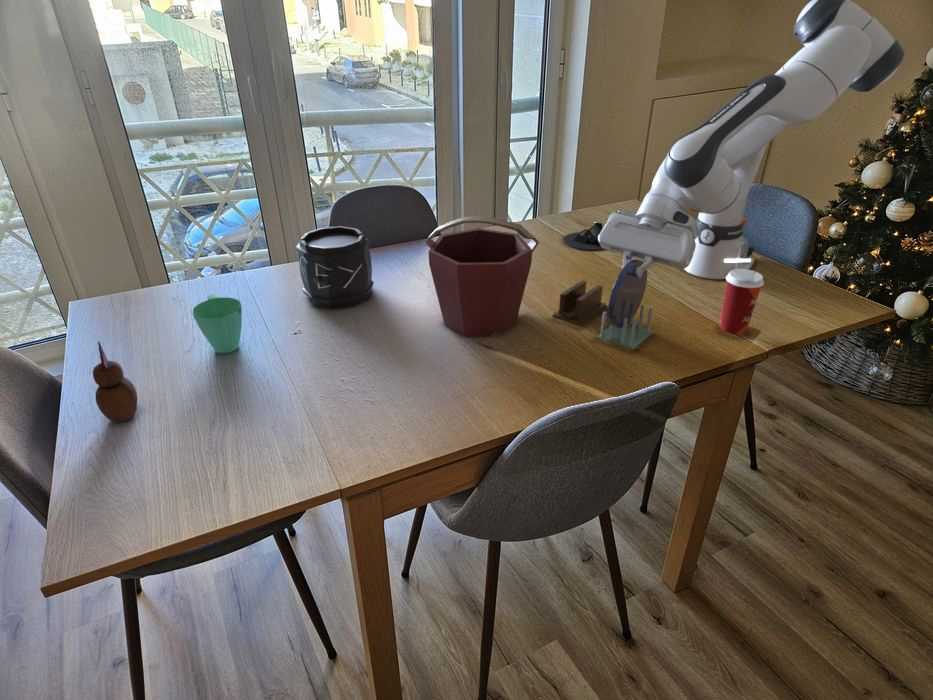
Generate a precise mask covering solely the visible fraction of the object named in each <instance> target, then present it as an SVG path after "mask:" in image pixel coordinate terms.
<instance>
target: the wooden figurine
mask: <svg viewBox="0 0 933 700" xmlns="http://www.w3.org/2000/svg"><path fill="white" fill-rule="evenodd" d="M97 346H98V351H99V359H100V362H99V363H98V364H96V365H95V366H94V367H93V369H92V377H93V380H94V382H95V384H97V385H98V386H97V388H96V390H95V402H96V405H97V408H98V409H99V412H101V414H102V415H103V416H104V417H105V418H106V419H108V420H109V421H110V422H115V423H121V422H125V421H127V420H129V419H131V418H132V417H133V416H134V415H135V414H136V412H137V410H138V391H137V388H136V386H135V384H134V383H133V382H132V381H131V380H130V379H129V378H127V377H125V376H124V375H125V374H124V370H123V368H122V367H123V366H121V364H120V363H119V362H118V361H116V360H108V357H107V355H106V354H105V351H104V349H103V347H102V345H101V342H100V340H98V341H97Z"/></svg>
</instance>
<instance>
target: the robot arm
mask: <svg viewBox="0 0 933 700" xmlns="http://www.w3.org/2000/svg"><path fill="white" fill-rule="evenodd" d="M800 11H801V12H800V13H799V14H798V17H797V19H796V22H795V23H794V25H793V34H794V36H795V39H796V40H797V41H798V43H799V44H800V45H803V47H802V48H801V49H800V50H799V51H797V52H796V53H795V54H794V55H793V56H792V57H791V58H789V59H788V60H787V61H786V63H784V64H783V65H782V66H781V67H780V68H779V69H778V70H777V71H776V72H775V74H767V75H765V76H762V77H760V78H758V79H756V80H755V81H754V82H752V83H751V84H749V85H748V86H747V87H746V88H744V89H743V90H742V91H740V92H739V93H738V94H737V95H735V96H734V97H733V98H732V99H731V100H729V101H728V102H726V104H724V105H722V107H721V108H719V109H718V110H717V111H715V113H714V114H712V115H711V116H710V117H709V118H708V119H706V120H705V121H703V123H701V124H699V126H697V127H696V128H694V129H692V130H691V131H690V132H688V133H686V134H684V135H683V136H681V137H680V138H678V139H677V140H676V141H675V142H673V143H672V145H671V146H670V148H669V149H668V151H667V152H666V153H667V154H666V156H665V158H664V160H663V161H662V162H661V164H660V166H659V167H658V170H657V172H656V173H655V175H654V177H653V180H652V183H651V188H650V189H649V191H648V192H647V193H646V195H644V198H643V200H642V202H641V204H640V206H639V208H638V210H637V212H634V211H627V210H624V209H618V210H615V211H613V212H611V214H610V215H609V216H608V219H607V222H606V223H605V224H604V226H603V229H602V231H601V232H600V234H599V236H598V241H599V243H600V245H601V247H602V248H604V249H603V250H608V251H611V252H615V253H619V254H622V260H623V264H622V267H621V269H620V272H621V271H622V269H623V268H624V267H625V265H626V264H627V263H628V262H630V261H631V260H633V257H634V258H637V259H642V260H643V262H644V263H643V264H642V265H641V266H640V267H637V266H635V268H634V271H633V273H632V274H633V276H634V277H638V278H641V276H642V274H643V272H644V271H646V270H647V271H648V270H649V269H650V268H651V267H653V265H654V263H656V264H661V265H664V266H669V267H672V268H676V269H678V270H679V269H680V270H684V271H685V272H687V273H688V274H690V275H693V276H696V277H700V278H704V279H710V280H726V276H727V275H728V274H729V272H730V271H731V270H735V269H747V270H751V268H752V267H753V265H754V263H755V258H754V257H753V256H752V255H753V253H754V249H755V247H754V246H751V245H750V242H749V241H748V240H747V239H746V237H745V236H744V235H743V234H744V230H745V229H744V228H745V227H746V226H747V224H748V218H744V215H745V212H746V207H747V202H748V198H749V195H750V193H751V189H752V186H753V184H754V181H755V179H756V176H757V173H758V171H759V168H760V165H761V163H762V159H763V157H764V154H765V152H766V150H767V148H768V146H769V144H770V142H771V141H773V140H774V139H775V138H776V137H778V136H779V135H780V134H781V133H782V132H783V131H785V130H786V129H787V128H789V127H790V126H791V125H793V126H796V125H797V126H798V125H804V124H807V123H810V122H813V120H815V119H817V118H818V117H819V116H821V115H822V114H823V113H824V112H825V111H826V110H828V108H829V107H830V106H831V105H832V104H833V103H834V102H835V101H836V100H837V99H838V98H839V97H840V96H841V95H842V94H843V93H844V92H845V91H846V89H848V88H849V89H851V90H853V91H856V92H858V93H865V92H866V93H867V92H870V91H872V90H873V89H876V88H878V87H881V86H882V85H883V84H885V83H887V81H889V79H891V78H892V77H893V76H894V75H895V74H896V72H897V71H898V69H899V67H900V65H901V64H902V63H903V61H904V58H905V54H906V53H905V50H904V48H903V46H902V44H901V43H900V42H899V41H898V39H894V38H893V36H892V35H891V34H890V32H889V31H888V30H887V29H886V28H885V27H884V25H883V24H882V23H881V22H880V21H879V20H878V19H877V18H876V17H875V16H872V15H871V14H870V13H868V12H867V11H866V10H864V9H863V8H862V7H860V6H859V5H858V4H857V3H855V2H853V1H852V0H810V1H809V2H808V3H807V4H806V5H805V6H804V7H803V8H802V10H800ZM686 210H690V211H692V212H696V213H698V216H696V218H694V217H693V216H692V215H690V214H688V213H686Z"/></svg>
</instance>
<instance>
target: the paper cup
mask: <svg viewBox="0 0 933 700" xmlns="http://www.w3.org/2000/svg"><path fill="white" fill-rule="evenodd" d="M725 280H726V283H725V290H724V296H723V302H722V308H721V313H720V314H721V315H720V322H719V328H720V329H721V330H722V331H724V332H726V333H728V334H731V335H742V334H745V333H747V331H748V329H749V328H748V327H749V325H750V322H751V320H752V315H753V312H754V310H755V307H756V304H757V301H758V298H759V294H760V292H761V288H762V287H763V286H764V284H765V282H764V277H763V275H762V274H761V273H760V272H758V271H755V270H751V269H749V270H747V269H735V270H731V271H730V272H729V274H728V275H727V276H726V279H725Z"/></svg>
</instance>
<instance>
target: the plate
mask: <svg viewBox="0 0 933 700" xmlns="http://www.w3.org/2000/svg"><path fill="white" fill-rule="evenodd" d="M644 262H645V261H644V260H640V259H637V258H636V259H635V258H634V259H631V260H629V262H628V263H627V264H626V265H625V267H624V268H623V269H622V268H621V269H622V271H621V270H620V272H619V274H618V275H617V278H616V280H615V282H614V284H613V287H612V290H611V293H610V297H609V300H608V301H609V302H608V309H607V314H608V322H609V324H610V323H611V325H612V326H614V327H617V328H623V324H624V319H625V318H627V324H628V323H629V324H630V322H631V321H633V319H634V317H635V316H636V314H637V313H638V310H639V309H640V307H641V304H642V301H643V299H644V295H645V292H646V289H647V288H646V287H647V284H648V283H647V282H648V269H647V270H646V271H644V272H643V274H642V276H641V278H638V277H634V276H633V274H632V273H633V271H634V268H635V266H637V267H640V266H641V265H642V264H643V263H644Z"/></svg>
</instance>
